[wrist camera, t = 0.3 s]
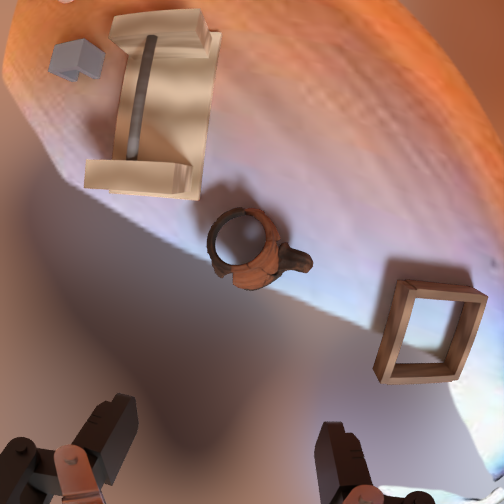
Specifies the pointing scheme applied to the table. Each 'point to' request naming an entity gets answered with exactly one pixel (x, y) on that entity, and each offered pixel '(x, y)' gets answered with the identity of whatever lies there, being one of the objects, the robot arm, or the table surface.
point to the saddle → (76, 60)
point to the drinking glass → (65, 1)
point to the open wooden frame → (398, 324)
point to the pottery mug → (266, 263)
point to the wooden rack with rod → (160, 105)
